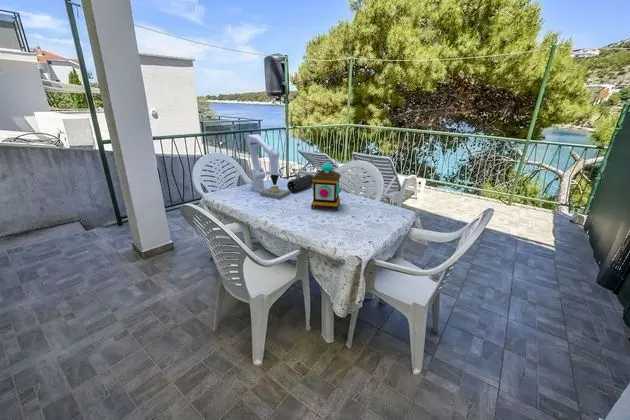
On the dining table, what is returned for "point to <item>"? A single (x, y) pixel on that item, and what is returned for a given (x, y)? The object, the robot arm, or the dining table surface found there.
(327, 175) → the decorative lantern
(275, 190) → the plug
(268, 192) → the socket plate
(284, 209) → the dining table surface
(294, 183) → the muzzle brake
